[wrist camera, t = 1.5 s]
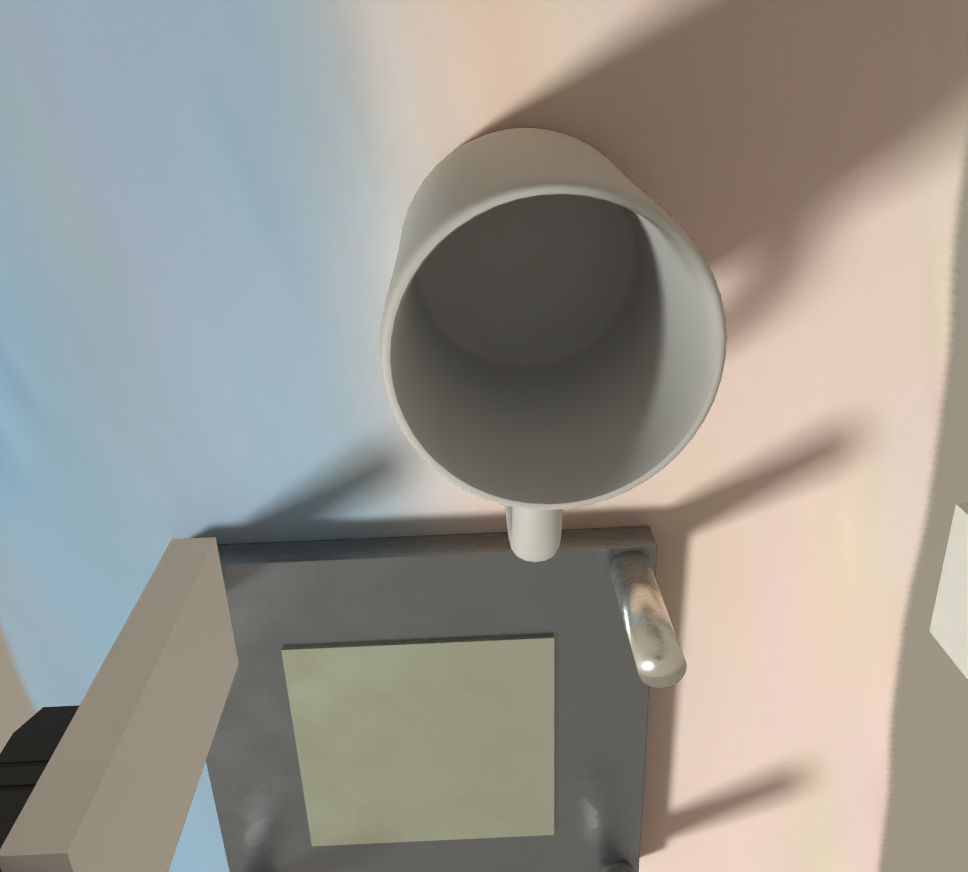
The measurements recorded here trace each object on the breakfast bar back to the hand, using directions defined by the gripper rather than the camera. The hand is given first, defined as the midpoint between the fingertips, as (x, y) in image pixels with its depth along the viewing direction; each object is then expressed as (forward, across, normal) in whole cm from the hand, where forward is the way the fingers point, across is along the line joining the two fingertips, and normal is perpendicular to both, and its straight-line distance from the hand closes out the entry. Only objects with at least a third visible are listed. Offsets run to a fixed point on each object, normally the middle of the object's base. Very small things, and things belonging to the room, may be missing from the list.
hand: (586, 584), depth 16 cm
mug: (+18, 0, 0) cm, 18 cm away
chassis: (+18, -4, -19) cm, 26 cm away
